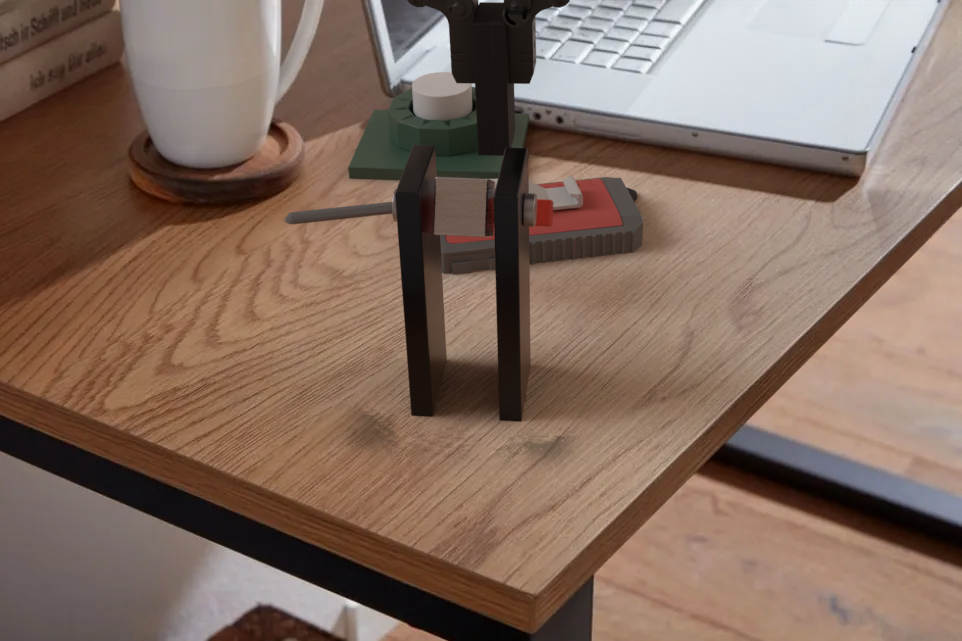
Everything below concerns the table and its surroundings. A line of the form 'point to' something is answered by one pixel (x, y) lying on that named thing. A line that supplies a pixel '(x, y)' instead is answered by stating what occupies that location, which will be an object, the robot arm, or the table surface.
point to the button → (441, 97)
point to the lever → (473, 207)
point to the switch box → (425, 143)
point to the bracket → (426, 285)
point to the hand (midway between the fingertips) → (497, 142)
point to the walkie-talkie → (574, 234)
